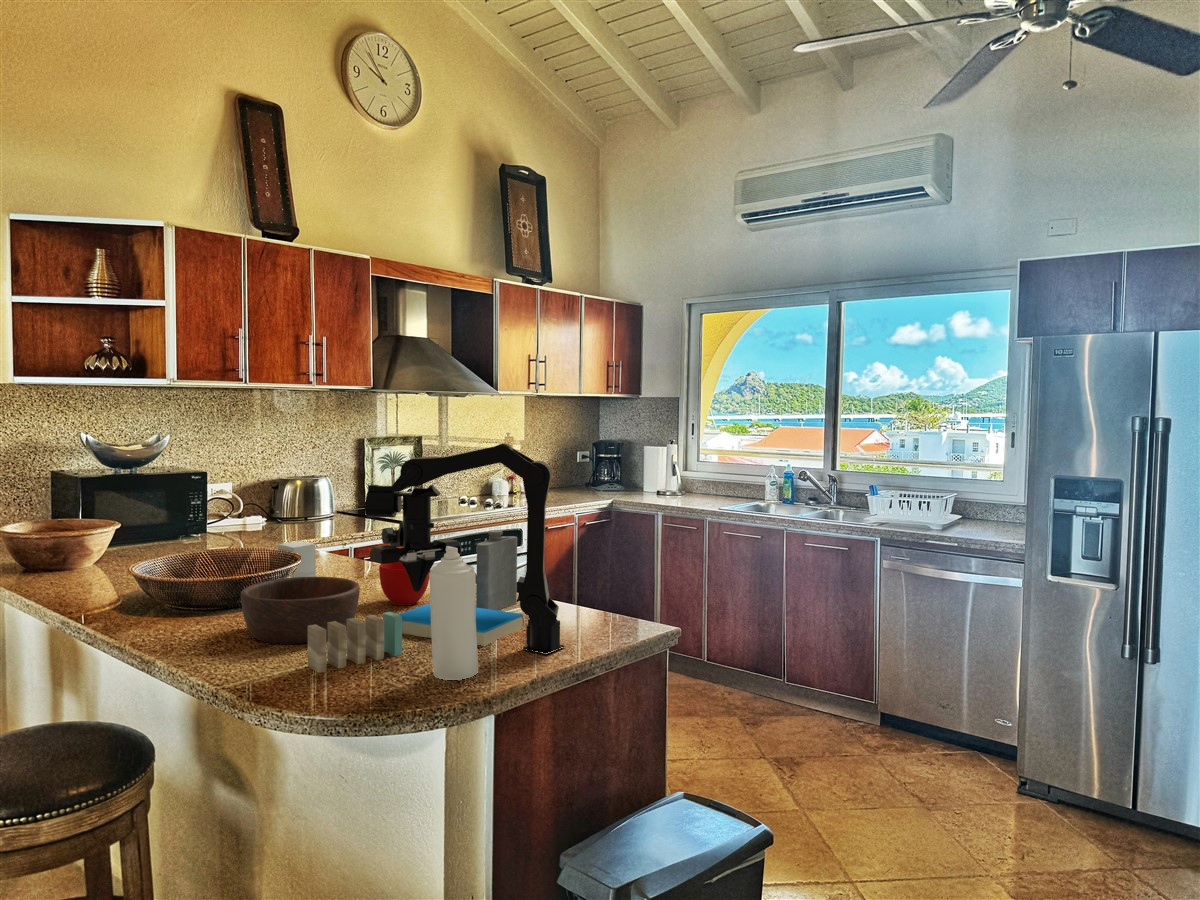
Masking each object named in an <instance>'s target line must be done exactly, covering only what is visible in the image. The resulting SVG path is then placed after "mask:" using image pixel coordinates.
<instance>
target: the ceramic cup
mask: <svg viewBox="0 0 1200 900" xmlns="http://www.w3.org/2000/svg"><path fill="white" fill-rule="evenodd" d="M378 572H379V573H378V574H379V580H380V586H381V590H382V592H383V594H384V595H385V598H387V599H388V601H390V603H391V605H394V604H395V606H410V605H409V604H412V605H415V603H416V604H418V603H419V601H420V600H421V598H423V596H424V595H425V593H426V591H427V588H428V586H429V584H430V581H429V573H430V572H431V571H429V573H428V574H427V576H426V579H425V581H424V583H423V585H422V587H421V589H420V591H419V592H415V591H414V590H413V587H412V584H411V581H410V579H409V576H408V573H407V571H406V569H405V567H404V566H403V565H402V563H400V562H396V563H388V564H381V563H379V566H378ZM417 602H418V603H417Z"/></svg>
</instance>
